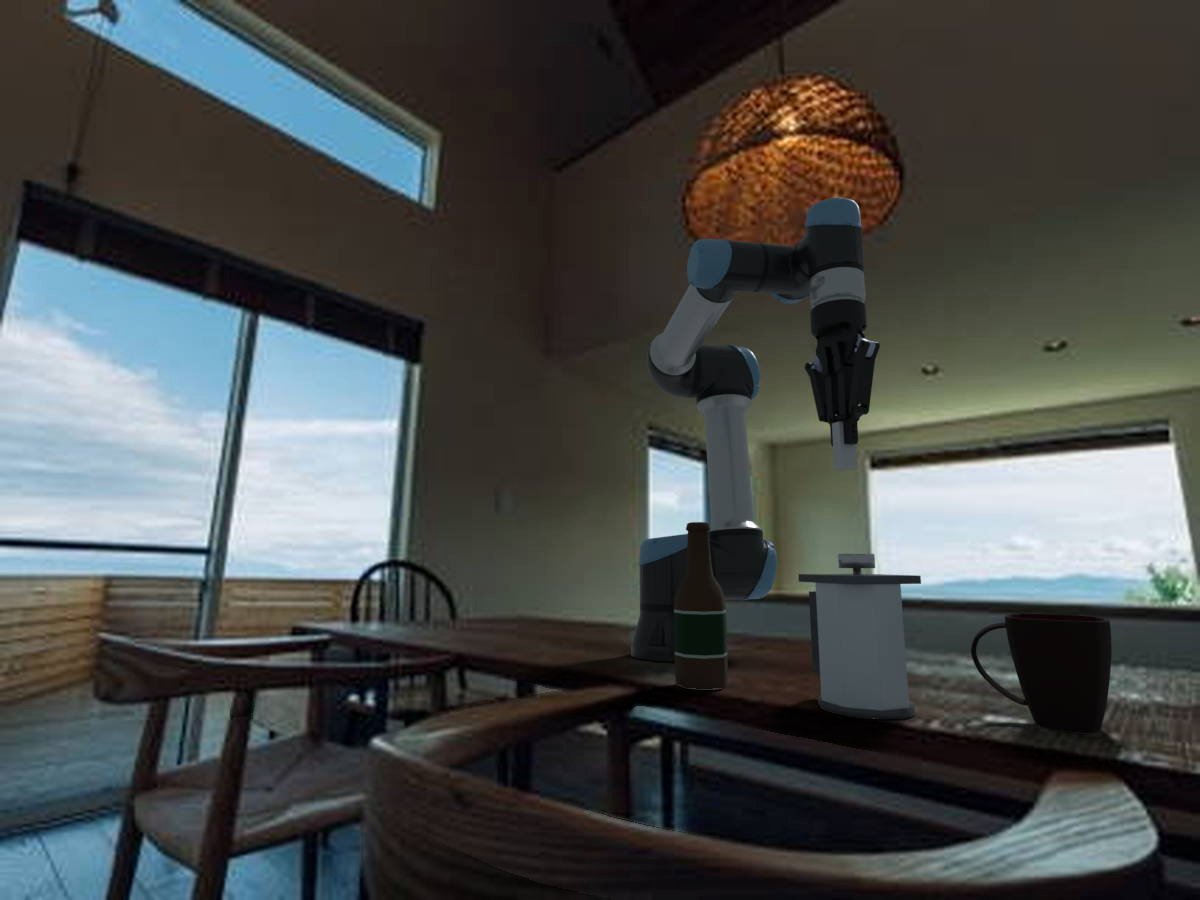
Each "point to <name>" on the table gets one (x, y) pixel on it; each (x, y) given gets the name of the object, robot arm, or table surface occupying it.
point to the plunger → (856, 562)
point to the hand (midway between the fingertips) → (845, 469)
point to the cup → (1058, 668)
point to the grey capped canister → (860, 644)
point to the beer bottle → (700, 618)
